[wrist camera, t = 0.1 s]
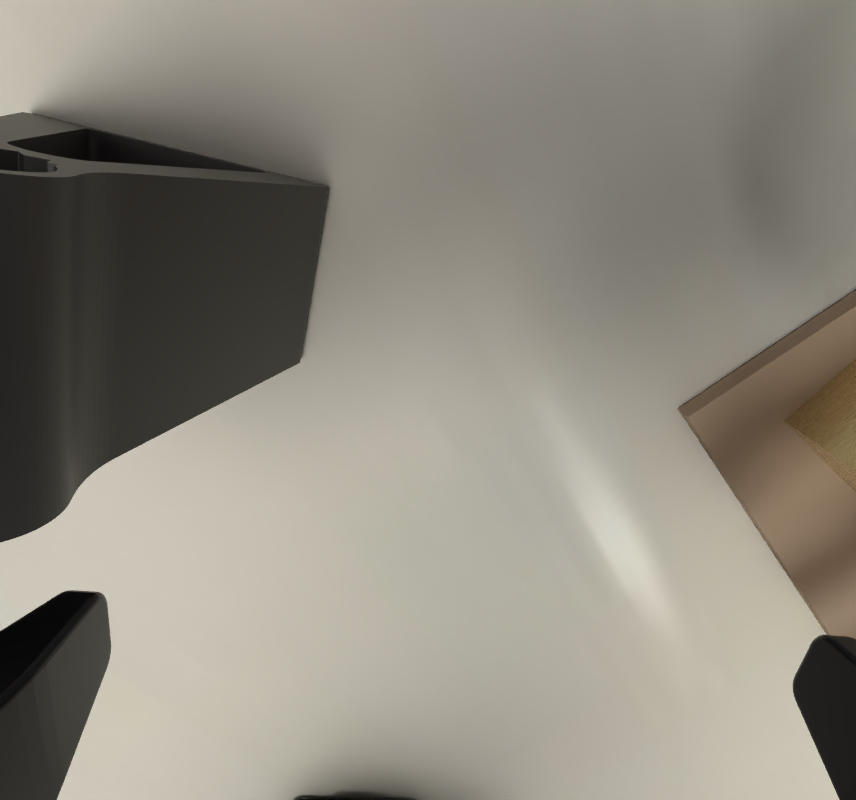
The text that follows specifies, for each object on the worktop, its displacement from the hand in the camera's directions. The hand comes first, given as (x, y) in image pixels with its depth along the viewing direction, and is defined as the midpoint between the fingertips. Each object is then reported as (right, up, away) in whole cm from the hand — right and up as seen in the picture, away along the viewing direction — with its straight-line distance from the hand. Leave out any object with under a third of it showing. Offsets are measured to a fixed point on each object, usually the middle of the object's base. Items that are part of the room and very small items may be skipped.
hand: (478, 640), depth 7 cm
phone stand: (-9, +8, +12) cm, 17 cm away
